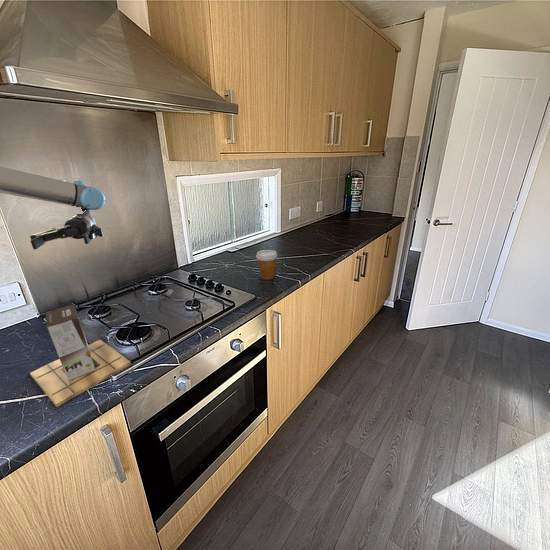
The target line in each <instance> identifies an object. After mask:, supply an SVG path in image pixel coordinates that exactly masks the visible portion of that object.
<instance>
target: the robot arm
mask: <svg viewBox="0 0 550 550" xmlns="http://www.w3.org/2000/svg"><path fill="white" fill-rule="evenodd" d="M65 181H66V180H61V179H56V178H53V177H48V176H43V175H40V174H34V173H30V172H26V171H22V170H17V169H13V168H9V167H3V166H0V194H5V195H10V196H17V197H20V198H21V197H22V198H27V199H32V200H39V201H44V202H48V203H49V202H50V203H54V204H61V205H66V206H70V205H71V206H76V207H81V209H82V211H83V212H84V211H85V210H86V211H85V212H84V213H83V214H77V215H75V216H73V215H72V217H70V218H69V219H67V220H66V221H65V222H64V225H63V226H62V227H59V228H57V229H56V227H52V228H50V229H48V230H44V231H40V232H37V233H34V234H30V235H29V238H30V244H31V246H32V249H33V250H38V249H39V248H40V247H43V245H45V244H46V242H47V243H48V242H51V241H54V240H58V239H62V240H64V239H68V238H72V239H75V240H82V239H83V241H84V243H85V245H88V244H90V242H91V241H92V240H93V239H96V238H98V237H100V238H103V237H104V232H103V229H102V228H101V227H100V226H98V225H97V226H96V222H95V219H94V218H93V217H92V216H91V215H90V211H89V210H94V211H97V210H100V209H102V208H103V207H104V205H105V204H106V197H105V194H104V193H103V191H101V190H100V189H99V188H96V187H92V186H88V187H87V186H85V184H84V182H83V181H80V180H79V181H74V182H73V183H70V182H65Z"/></svg>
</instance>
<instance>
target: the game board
mask: <svg viewBox="0 0 550 550" xmlns="http://www.w3.org/2000/svg"><path fill="white" fill-rule="evenodd" d="M88 346H89V350H90V353H91V356H92V360H93V364H94V367H95V370H94V371H92V372H89V373H87V374H84V375H82V376H79V377H76V378H74V379H71V380H68V379H67V377H66V374H65V371H64V369H63V366H62V364H61V361H60V359H59V358H58V359H56V360H54V361H52V362H49V363H48V364H45V365H44V366H41V367H39V368H37V369H35V370H33V371H31V372H29V375H30V376H31V378H32V379H33V380H34V382H35V383H36V384H37V385H38V387H40V389H41V390H42V391H43V392H44V394H45V395H46V396H47V397H48V398H49V400H50V401H51V402H52V403H53V405H54V406H55V407H56V408H58V407H60V406H61V405H63V404H65V403H67V402H69V401H70V400H71V399H74V398H75V397H77V396H78V395H80V394H82V393H84V392H85V391H87V390H89V389H91V388H93V387H94V386H96V385H97V384H100V383H101V382H103V381H104V380H106V379H108V378H110V377H111V376H113V375H115V374H117V373H119V372H120V371H122V370H124V369H125V368H127V367H129V366H130V365H132V362H131V360H129V359H128V358H126V357H125V356H123V354H121V353H119V352H118V351H117V350H115V349H114V348H112V346H109V344H108V343H106V342H104V341H103V340H101V339H98V340H96V341H94V342H91V343H90V344H88Z"/></svg>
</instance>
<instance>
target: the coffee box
mask: <svg viewBox="0 0 550 550" xmlns="http://www.w3.org/2000/svg"><path fill="white" fill-rule="evenodd" d="M45 319H46V320H45V322H46V323H45V324H46V328H47V330H48V333H49V335H50V338H51V340H52V344H53V345H54V348H55V351H56V353H57V356H58V359H60V361H61V364H62V366H63V369H64V371H65V374H66V377H67V379H68V380H71V379H74V378H76V377H79V376H82V375H84V374H87V373H89V372H92V371H94V370H95V367H94V364H93V360H92V356H91V353H90V350H89V346H88V345H89V344H88V343H89V342H88V341H87V338H86V334H85V331H84V329H83V326H82V323H81V320H80V317H79V314H78V312H77V309H76V306H75V304H72V305H67V306H63V307H60V308H56V309H54V310H51V311H46V312H45Z"/></svg>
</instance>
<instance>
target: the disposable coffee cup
mask: <svg viewBox="0 0 550 550" xmlns="http://www.w3.org/2000/svg"><path fill="white" fill-rule="evenodd" d="M278 256H279V255H278V253H277V251H276V250H272V249H262V250H259V251H257V252H256V255H255V258H256V259H257V264H258V270H259V276H260V278H261V279H262V280H272V279H274V278H275V276H276V268H277V258H278Z"/></svg>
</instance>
